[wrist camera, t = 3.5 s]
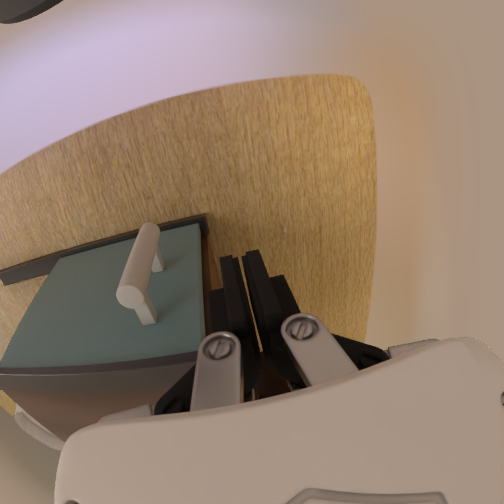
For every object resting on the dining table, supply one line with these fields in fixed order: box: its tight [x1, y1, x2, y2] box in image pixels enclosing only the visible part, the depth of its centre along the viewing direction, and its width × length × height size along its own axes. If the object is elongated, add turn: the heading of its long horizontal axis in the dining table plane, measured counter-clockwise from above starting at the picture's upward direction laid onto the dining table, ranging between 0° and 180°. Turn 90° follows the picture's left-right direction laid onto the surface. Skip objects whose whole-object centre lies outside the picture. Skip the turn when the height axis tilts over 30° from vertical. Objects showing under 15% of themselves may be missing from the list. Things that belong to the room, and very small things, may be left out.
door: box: [0, 222, 206, 368], centre depth 17 cm, size 4×15×14 cm, turn 99°
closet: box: [0, 213, 222, 442], centre depth 20 cm, size 13×26×16 cm, turn 99°
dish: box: [14, 404, 65, 451], centre depth 37 cm, size 22×22×5 cm
